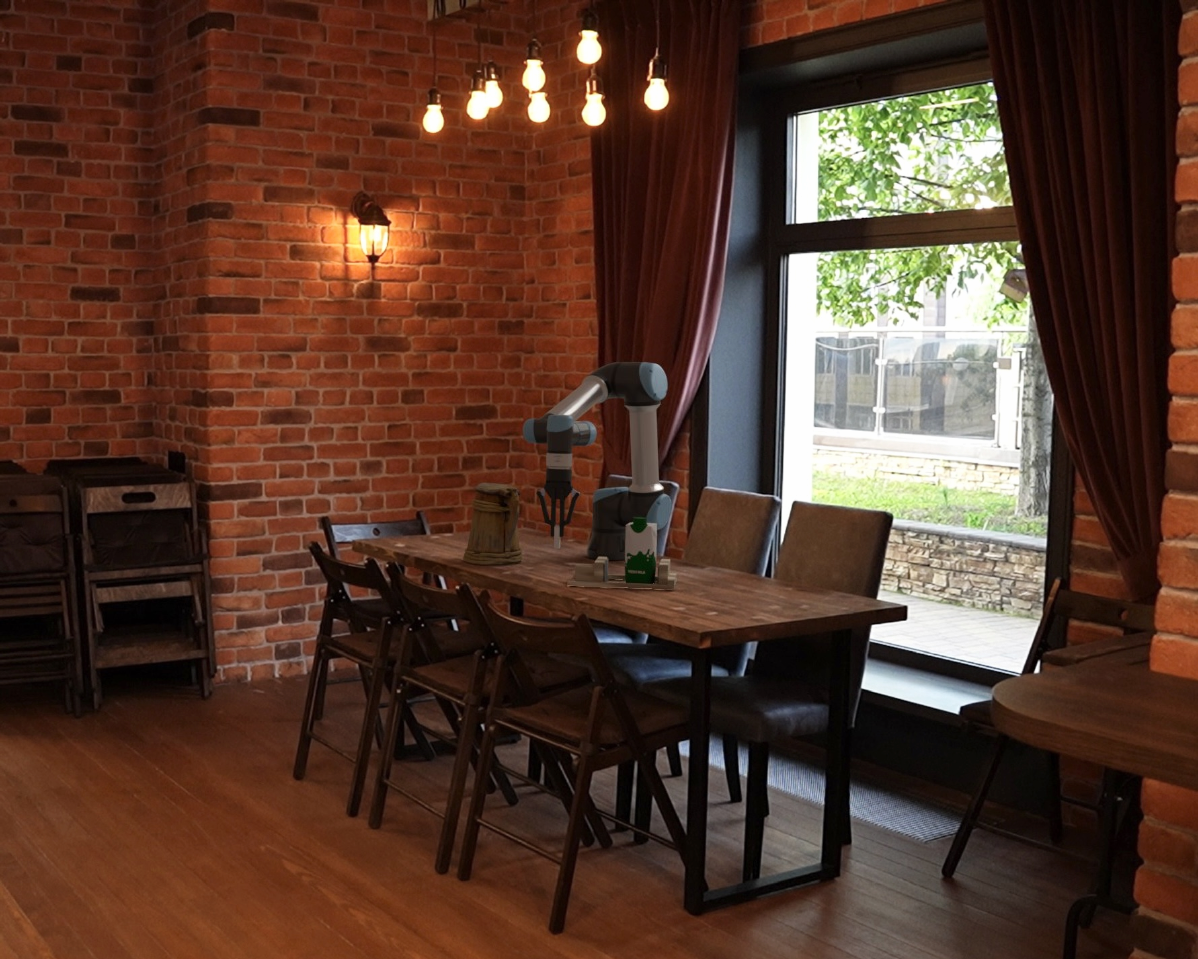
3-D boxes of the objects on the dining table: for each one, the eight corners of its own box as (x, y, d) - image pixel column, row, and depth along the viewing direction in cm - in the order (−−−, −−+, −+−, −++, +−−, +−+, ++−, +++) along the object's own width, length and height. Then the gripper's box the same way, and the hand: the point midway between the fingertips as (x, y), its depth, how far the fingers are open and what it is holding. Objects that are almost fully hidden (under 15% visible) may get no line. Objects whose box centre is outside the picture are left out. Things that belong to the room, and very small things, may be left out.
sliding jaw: (578, 578, 407) (578, 555, 406) (608, 579, 406) (608, 556, 405) (573, 585, 395) (573, 561, 394) (604, 586, 394) (604, 563, 393)
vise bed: (573, 577, 409) (574, 554, 408) (676, 581, 406) (677, 558, 405) (567, 586, 393) (567, 562, 392) (674, 590, 390) (674, 566, 389)
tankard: (498, 555, 450) (499, 480, 448) (542, 565, 433) (543, 486, 430) (452, 560, 438) (453, 482, 436) (496, 570, 421) (497, 489, 418)
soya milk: (621, 586, 396) (623, 517, 394) (629, 581, 404) (631, 514, 403) (651, 588, 393) (652, 519, 392) (658, 583, 402) (660, 516, 400)
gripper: (534, 467, 395) (533, 548, 397) (579, 469, 394) (577, 550, 396) (538, 466, 403) (536, 545, 405) (582, 467, 401) (580, 547, 403)
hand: (556, 548), depth 400 cm, fingers closed
